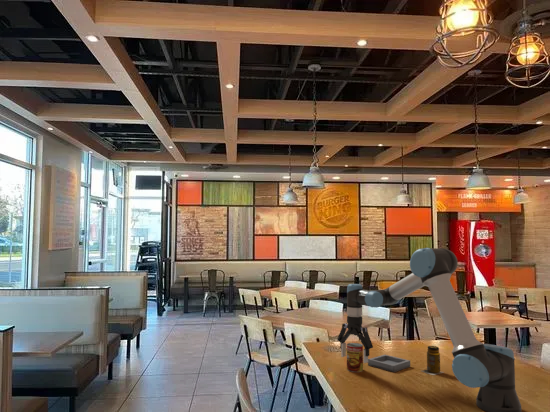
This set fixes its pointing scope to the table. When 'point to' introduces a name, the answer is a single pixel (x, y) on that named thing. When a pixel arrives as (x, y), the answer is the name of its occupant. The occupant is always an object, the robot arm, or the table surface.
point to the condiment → (433, 361)
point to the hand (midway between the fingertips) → (354, 359)
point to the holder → (389, 363)
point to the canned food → (354, 357)
